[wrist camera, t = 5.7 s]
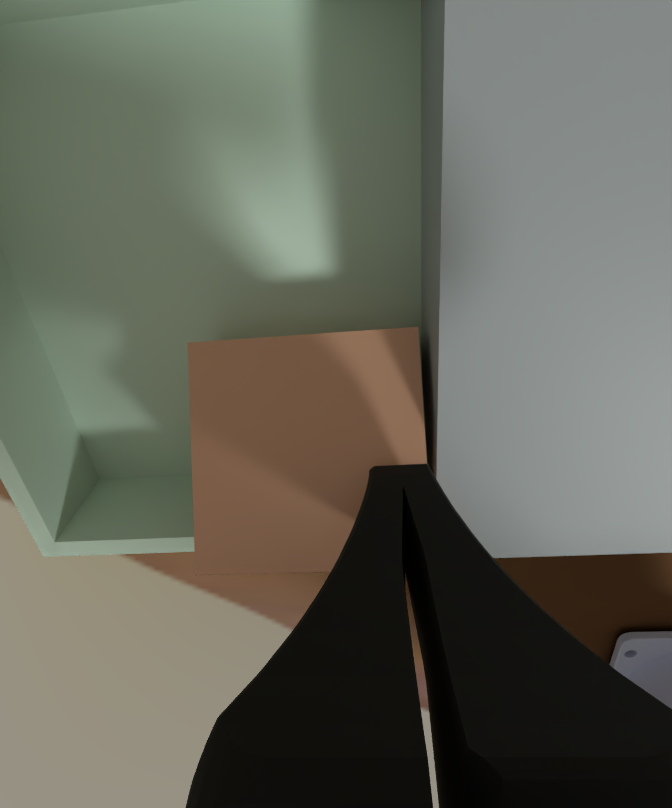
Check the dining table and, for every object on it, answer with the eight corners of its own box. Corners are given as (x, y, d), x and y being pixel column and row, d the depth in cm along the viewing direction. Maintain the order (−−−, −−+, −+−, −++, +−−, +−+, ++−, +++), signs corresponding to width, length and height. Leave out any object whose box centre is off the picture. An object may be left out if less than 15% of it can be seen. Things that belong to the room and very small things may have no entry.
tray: (419, 467, 17) (433, 543, 14) (96, 482, 18) (43, 556, 15) (417, -58, 10) (443, -133, 7) (-104, 10, 11) (-279, -31, 8)
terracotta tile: (425, 548, 14) (433, 568, 12) (220, 555, 14) (195, 576, 12) (412, 341, 14) (418, 326, 12) (212, 354, 15) (187, 342, 13)
